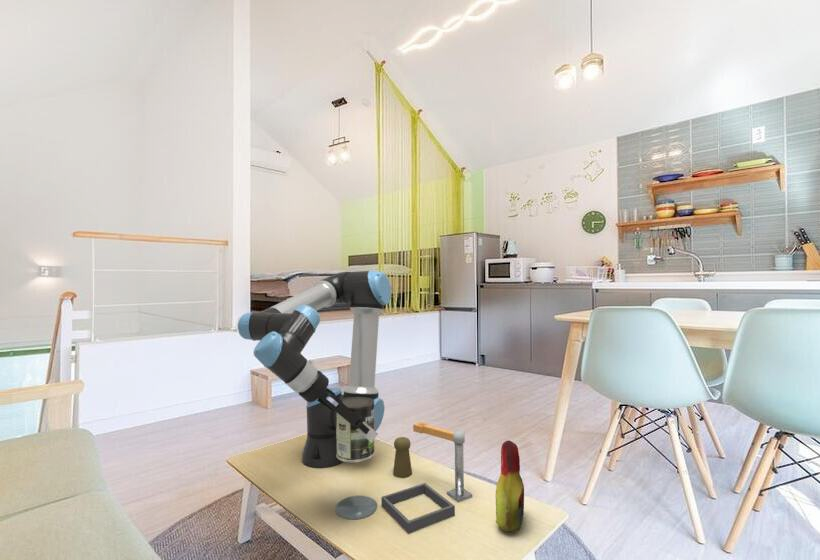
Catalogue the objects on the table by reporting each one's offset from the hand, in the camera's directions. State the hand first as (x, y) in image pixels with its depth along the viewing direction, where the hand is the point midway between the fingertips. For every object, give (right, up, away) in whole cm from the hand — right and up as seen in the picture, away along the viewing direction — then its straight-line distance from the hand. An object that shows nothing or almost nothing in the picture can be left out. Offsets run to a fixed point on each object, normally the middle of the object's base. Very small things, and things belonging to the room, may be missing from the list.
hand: (365, 431), depth 110 cm
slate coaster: (-2, -20, -2) cm, 20 cm away
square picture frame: (+14, -20, -3) cm, 24 cm away
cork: (+10, -20, +17) cm, 28 cm away
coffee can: (-3, -6, -2) cm, 6 cm away
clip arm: (+21, -4, +8) cm, 23 cm away
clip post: (+26, -19, +4) cm, 33 cm away
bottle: (+37, -19, -9) cm, 43 cm away
